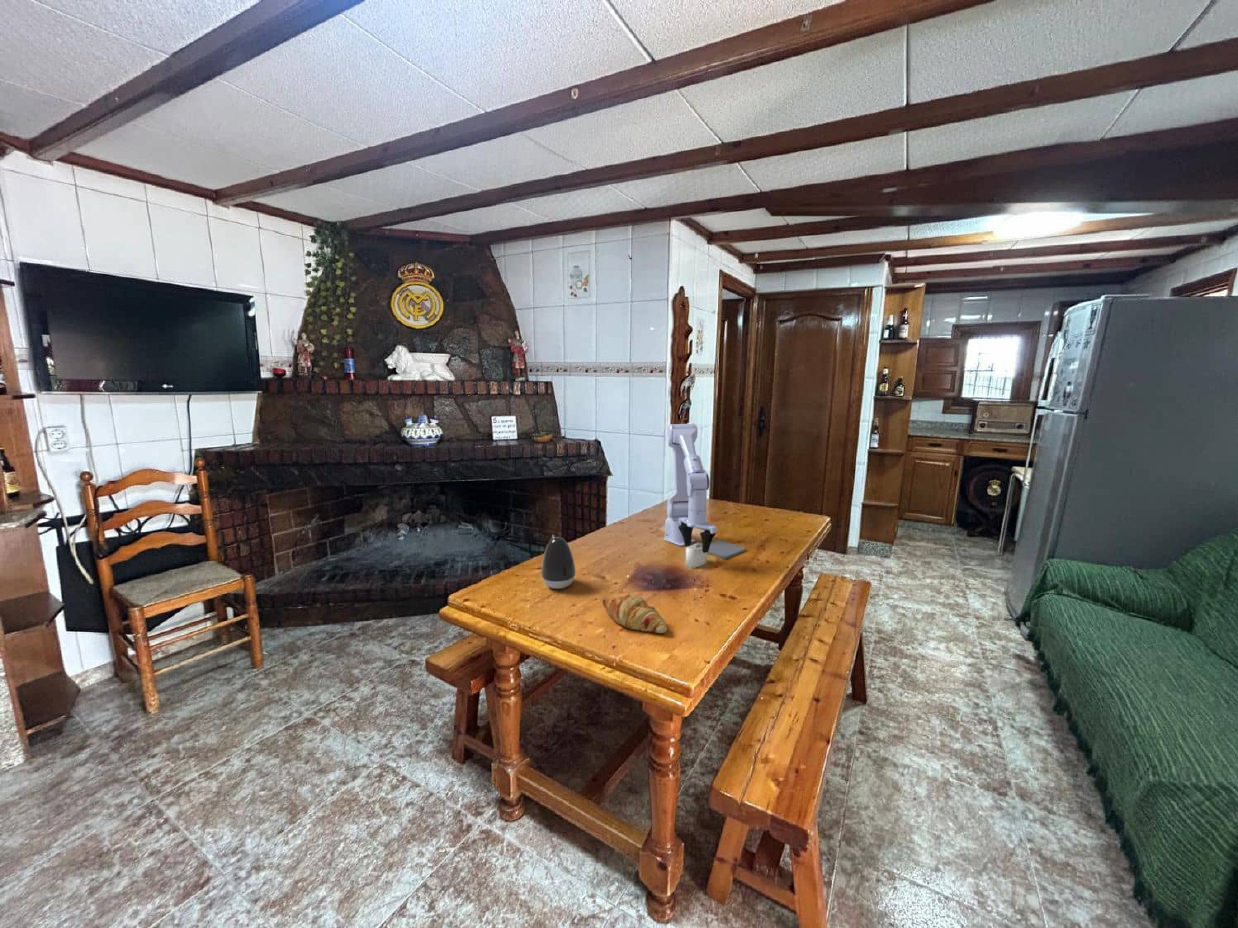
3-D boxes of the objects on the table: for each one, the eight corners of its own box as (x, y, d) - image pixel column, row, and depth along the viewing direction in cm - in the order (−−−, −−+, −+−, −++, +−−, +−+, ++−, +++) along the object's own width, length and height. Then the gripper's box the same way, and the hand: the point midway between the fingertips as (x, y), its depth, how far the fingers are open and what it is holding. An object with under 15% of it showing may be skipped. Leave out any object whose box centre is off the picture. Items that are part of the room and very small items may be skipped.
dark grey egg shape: (570, 575, 158) (569, 529, 155) (580, 589, 148) (578, 540, 145) (538, 581, 154) (536, 534, 151) (546, 595, 145) (544, 545, 142)
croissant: (672, 643, 126) (681, 612, 127) (651, 641, 118) (661, 608, 119) (609, 615, 139) (618, 587, 140) (587, 612, 131) (596, 582, 133)
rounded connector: (683, 565, 165) (683, 545, 163) (700, 559, 170) (701, 539, 169) (691, 569, 162) (692, 548, 160) (708, 562, 167) (709, 542, 166)
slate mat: (697, 549, 178) (697, 547, 178) (719, 541, 186) (719, 539, 186) (724, 559, 169) (724, 557, 169) (746, 550, 177) (746, 548, 177)
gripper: (672, 506, 165) (672, 545, 168) (706, 516, 154) (705, 558, 157) (686, 502, 169) (686, 541, 172) (721, 512, 159) (720, 552, 161)
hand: (696, 548), depth 165 cm, fingers open, 7 cm apart
